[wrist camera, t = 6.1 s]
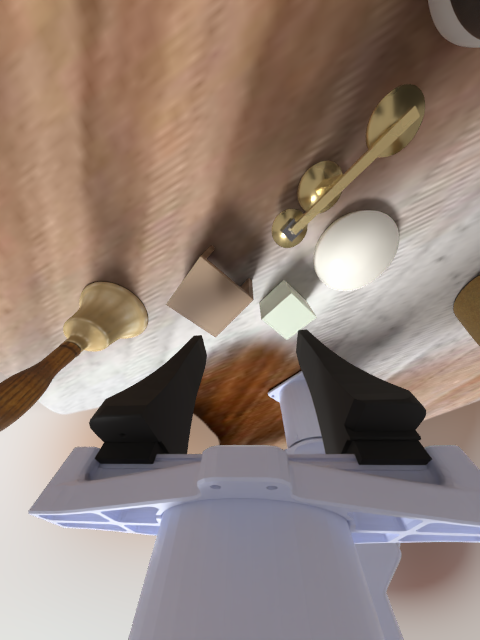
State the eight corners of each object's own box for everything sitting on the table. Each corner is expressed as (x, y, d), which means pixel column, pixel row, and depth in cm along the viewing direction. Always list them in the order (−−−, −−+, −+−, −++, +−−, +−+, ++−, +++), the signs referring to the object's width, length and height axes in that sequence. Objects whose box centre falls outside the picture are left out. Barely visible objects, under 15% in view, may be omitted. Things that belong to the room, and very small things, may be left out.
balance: (389, 144, 14) (464, 111, 9) (285, 251, 19) (298, 267, 14) (365, 100, 13) (437, 34, 8) (260, 226, 17) (265, 233, 13)
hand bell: (152, 296, 22) (2, 436, 9) (144, 344, 26) (36, 488, 13) (79, 270, 21) (-242, 390, 7) (83, 325, 25) (-113, 466, 11)
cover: (252, 280, 20) (253, 299, 16) (221, 313, 23) (215, 337, 19) (211, 245, 19) (200, 256, 14) (182, 284, 21) (166, 304, 17)
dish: (405, 249, 18) (413, 251, 17) (339, 299, 21) (342, 303, 21) (366, 189, 16) (373, 188, 15) (298, 256, 19) (300, 258, 18)
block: (305, 300, 22) (316, 317, 18) (281, 320, 23) (287, 340, 20) (283, 279, 20) (291, 293, 17) (259, 302, 22) (261, 319, 19)
